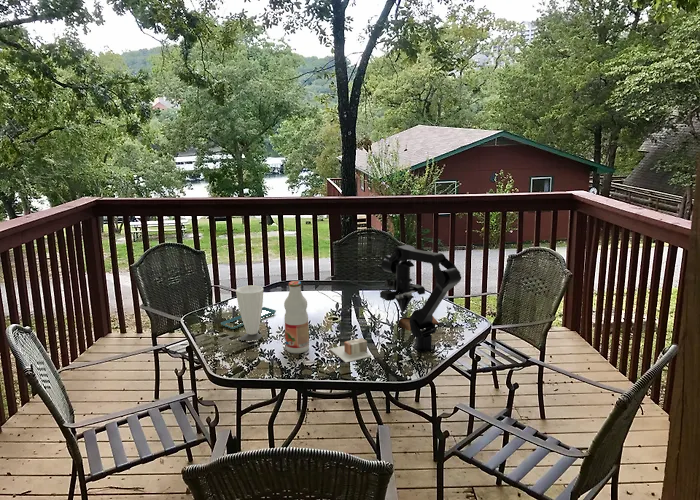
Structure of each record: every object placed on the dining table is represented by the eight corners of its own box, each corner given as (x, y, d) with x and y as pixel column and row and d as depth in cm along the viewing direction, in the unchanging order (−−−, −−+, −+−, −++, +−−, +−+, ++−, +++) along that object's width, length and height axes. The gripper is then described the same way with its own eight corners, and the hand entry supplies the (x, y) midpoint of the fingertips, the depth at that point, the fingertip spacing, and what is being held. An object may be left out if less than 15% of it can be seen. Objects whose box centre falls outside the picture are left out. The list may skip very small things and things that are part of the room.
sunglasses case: (408, 331, 226) (404, 316, 228) (400, 334, 232) (396, 319, 234) (441, 323, 235) (437, 309, 237) (433, 326, 241) (428, 312, 243)
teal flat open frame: (232, 331, 231) (232, 326, 230) (220, 327, 236) (219, 322, 236) (276, 315, 250) (276, 310, 250) (264, 311, 256) (264, 306, 255)
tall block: (366, 341, 206) (349, 345, 202) (367, 350, 207) (349, 354, 203) (361, 337, 209) (344, 341, 206) (362, 347, 210) (344, 351, 207)
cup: (239, 344, 216) (236, 294, 211) (238, 334, 227) (234, 286, 222) (267, 340, 219) (265, 291, 214) (264, 331, 230) (262, 284, 225)
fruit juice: (309, 353, 206) (307, 285, 200) (285, 354, 205) (282, 286, 199) (309, 343, 215) (306, 278, 209) (286, 345, 214) (283, 279, 208)
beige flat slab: (371, 356, 202) (371, 355, 202) (345, 362, 197) (345, 362, 197) (353, 344, 214) (353, 343, 214) (329, 349, 209) (329, 348, 209)
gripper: (410, 268, 223) (410, 302, 227) (373, 274, 215) (373, 310, 218) (426, 274, 214) (425, 310, 217) (387, 281, 205) (387, 318, 209)
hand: (402, 312), depth 215 cm, fingers closed
